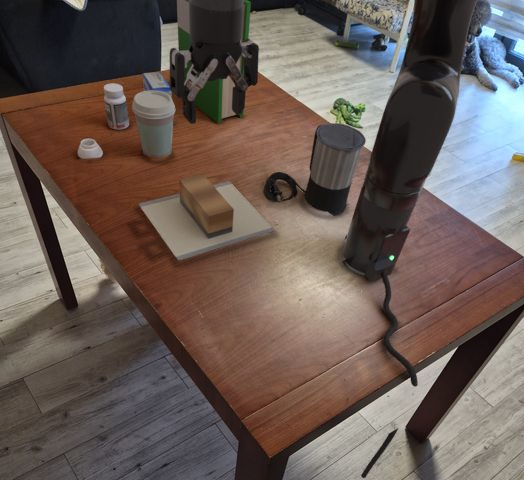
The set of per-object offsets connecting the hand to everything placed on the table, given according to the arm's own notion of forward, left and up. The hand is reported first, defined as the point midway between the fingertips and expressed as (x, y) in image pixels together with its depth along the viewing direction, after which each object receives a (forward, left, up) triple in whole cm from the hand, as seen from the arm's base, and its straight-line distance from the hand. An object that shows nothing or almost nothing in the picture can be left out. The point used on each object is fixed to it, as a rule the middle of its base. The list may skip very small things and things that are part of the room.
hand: (214, 117), depth 77 cm
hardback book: (+40, -21, -19) cm, 49 cm away
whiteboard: (-2, +2, -19) cm, 19 cm away
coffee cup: (+23, +1, -19) cm, 30 cm away
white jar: (+28, +14, -19) cm, 37 cm away
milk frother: (-4, -20, -19) cm, 28 cm away
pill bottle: (+38, +4, -19) cm, 43 cm away
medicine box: (+38, -6, -19) cm, 43 cm away
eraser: (-2, +2, -18) cm, 18 cm away
